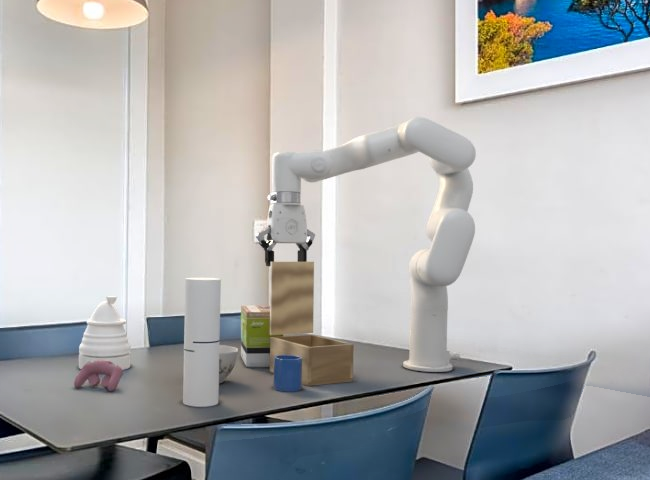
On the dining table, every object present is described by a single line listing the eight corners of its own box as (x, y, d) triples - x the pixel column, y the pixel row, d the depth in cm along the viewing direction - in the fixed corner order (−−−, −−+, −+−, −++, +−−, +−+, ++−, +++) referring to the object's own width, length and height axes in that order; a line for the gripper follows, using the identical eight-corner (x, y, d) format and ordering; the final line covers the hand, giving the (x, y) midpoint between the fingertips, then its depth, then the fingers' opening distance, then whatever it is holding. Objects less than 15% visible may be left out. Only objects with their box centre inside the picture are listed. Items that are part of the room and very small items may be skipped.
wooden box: (353, 381, 160) (353, 344, 159) (308, 386, 154) (309, 347, 153) (311, 368, 175) (312, 334, 175) (269, 371, 169) (270, 336, 169)
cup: (291, 384, 155) (292, 354, 155) (306, 390, 149) (307, 358, 149) (268, 386, 152) (269, 355, 152) (282, 392, 147) (283, 360, 146)
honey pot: (140, 365, 174) (141, 296, 174) (105, 373, 163) (106, 299, 163) (104, 360, 181) (105, 293, 181) (67, 367, 170) (68, 296, 170)
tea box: (239, 357, 189) (240, 304, 189) (274, 357, 190) (276, 305, 190) (245, 367, 174) (246, 310, 174) (283, 367, 175) (284, 310, 175)
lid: (314, 261, 175) (303, 261, 179) (272, 261, 169) (262, 261, 173) (313, 332, 175) (302, 330, 179) (271, 335, 169) (261, 332, 173)
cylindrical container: (213, 407, 132) (215, 280, 132) (178, 405, 134) (180, 279, 133) (222, 399, 139) (224, 278, 139) (188, 397, 141) (191, 277, 140)
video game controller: (120, 395, 147) (127, 364, 150) (110, 390, 143) (118, 358, 146) (81, 391, 150) (89, 361, 153) (70, 386, 146) (79, 355, 149)
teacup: (247, 384, 153) (248, 349, 153) (197, 390, 147) (198, 353, 147) (217, 372, 167) (218, 340, 167) (170, 377, 161) (171, 343, 160)
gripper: (264, 198, 168) (264, 267, 168) (322, 200, 176) (321, 265, 176) (250, 199, 174) (249, 266, 175) (306, 201, 182) (306, 264, 183)
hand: (286, 265), depth 175 cm, fingers open, 9 cm apart
